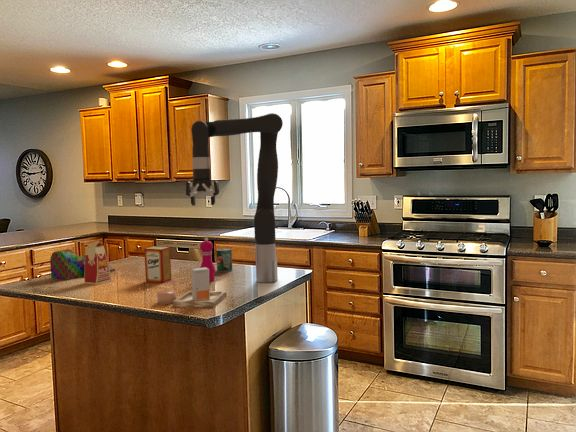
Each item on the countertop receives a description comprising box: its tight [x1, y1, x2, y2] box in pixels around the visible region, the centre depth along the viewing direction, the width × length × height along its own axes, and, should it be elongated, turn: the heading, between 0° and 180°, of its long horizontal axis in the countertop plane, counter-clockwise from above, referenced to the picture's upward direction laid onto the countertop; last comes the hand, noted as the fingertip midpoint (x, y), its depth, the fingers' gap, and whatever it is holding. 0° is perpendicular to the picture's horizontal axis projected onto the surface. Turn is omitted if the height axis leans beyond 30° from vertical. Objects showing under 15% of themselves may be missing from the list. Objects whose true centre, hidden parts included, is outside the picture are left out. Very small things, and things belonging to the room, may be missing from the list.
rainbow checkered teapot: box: [49, 248, 116, 281], centre depth 247 cm, size 25×17×14 cm
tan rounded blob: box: [156, 289, 177, 305], centre depth 189 cm, size 7×7×4 cm
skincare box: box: [190, 267, 211, 301], centre depth 188 cm, size 6×4×12 cm
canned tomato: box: [215, 247, 233, 273], centre depth 249 cm, size 8×8×11 cm
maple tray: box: [172, 290, 228, 308], centre depth 189 cm, size 16×16×2 cm
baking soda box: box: [143, 245, 172, 284], centre depth 227 cm, size 10×6×16 cm
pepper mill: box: [199, 237, 216, 282], centre depth 226 cm, size 7×7×20 cm
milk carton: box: [83, 239, 113, 286], centre depth 228 cm, size 9×9×20 cm
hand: (203, 205), depth 212 cm, fingers open, 8 cm apart
